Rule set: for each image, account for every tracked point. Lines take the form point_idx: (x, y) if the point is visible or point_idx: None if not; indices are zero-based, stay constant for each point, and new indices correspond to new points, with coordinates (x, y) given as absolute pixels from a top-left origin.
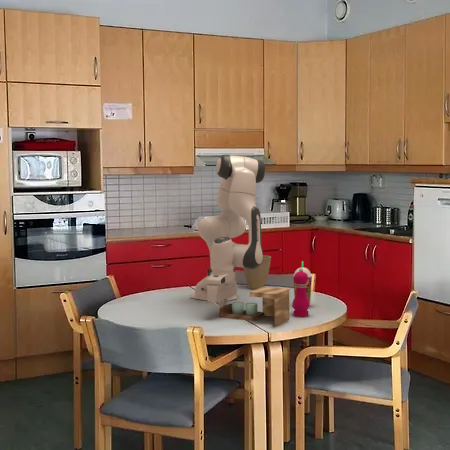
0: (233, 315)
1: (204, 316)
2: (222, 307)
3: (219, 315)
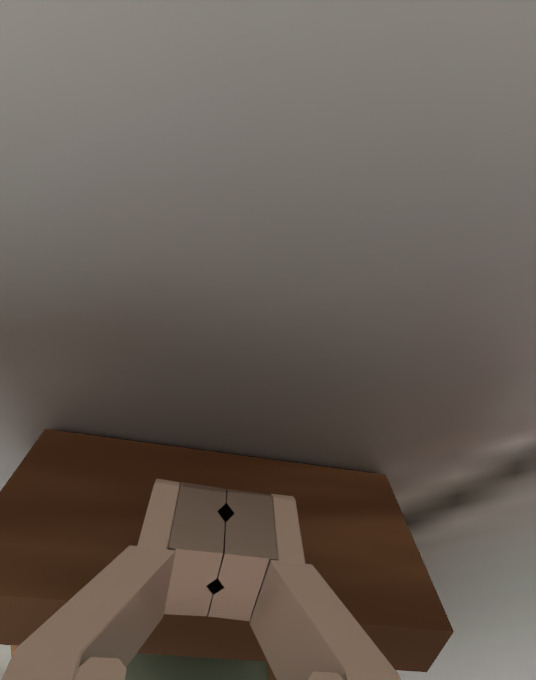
0: (15, 649)
1: (155, 122)
2: (33, 618)
3: (17, 468)
